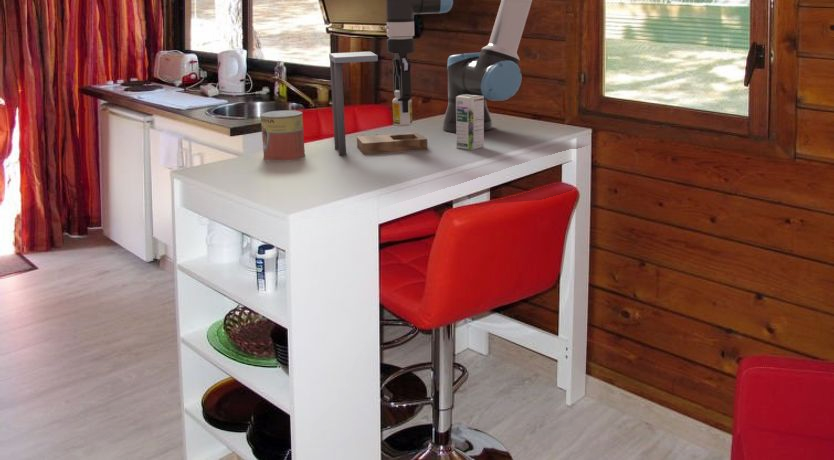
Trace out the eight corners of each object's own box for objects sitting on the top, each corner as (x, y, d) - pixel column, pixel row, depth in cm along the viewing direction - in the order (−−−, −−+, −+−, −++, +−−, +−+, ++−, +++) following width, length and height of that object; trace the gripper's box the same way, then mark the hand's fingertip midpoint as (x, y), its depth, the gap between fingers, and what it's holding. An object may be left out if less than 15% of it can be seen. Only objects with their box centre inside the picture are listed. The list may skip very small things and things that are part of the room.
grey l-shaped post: (374, 145, 265) (370, 51, 258) (381, 153, 254) (377, 55, 246) (334, 148, 263) (329, 53, 255) (339, 156, 252) (334, 57, 244)
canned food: (259, 155, 255) (255, 112, 252) (298, 151, 260) (295, 109, 256) (269, 163, 245) (266, 118, 242) (310, 158, 250) (307, 114, 246)
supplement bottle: (405, 122, 263) (404, 88, 260) (416, 125, 258) (415, 90, 256) (389, 124, 260) (388, 90, 257) (399, 127, 255) (398, 92, 253)
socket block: (419, 142, 267) (418, 132, 266) (427, 149, 257) (427, 139, 256) (357, 146, 264) (356, 136, 263) (363, 154, 253) (362, 143, 252)
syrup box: (455, 148, 258) (454, 96, 254) (469, 144, 262) (468, 93, 258) (471, 150, 254) (470, 97, 250) (484, 147, 258) (484, 95, 254)
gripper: (381, 35, 260) (383, 118, 267) (393, 40, 243) (395, 128, 249) (407, 34, 262) (409, 116, 268) (421, 39, 244) (423, 126, 251)
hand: (402, 122), depth 259 cm, fingers closed on supplement bottle, 5 cm apart
